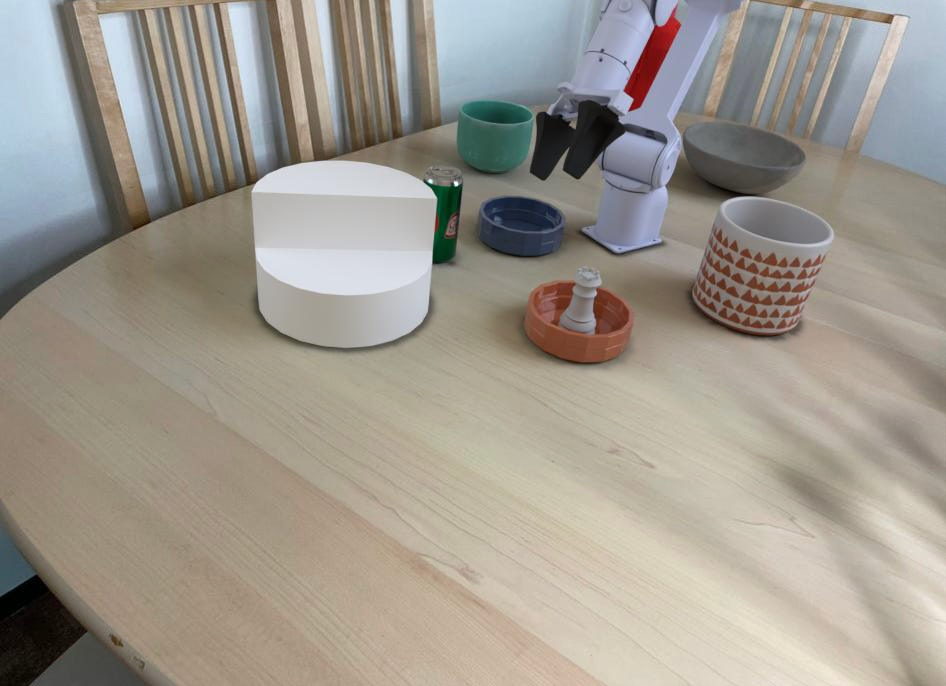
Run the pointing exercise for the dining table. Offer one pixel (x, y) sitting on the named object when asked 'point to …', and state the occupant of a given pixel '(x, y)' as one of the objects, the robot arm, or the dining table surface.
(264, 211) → the stepped white cylinder
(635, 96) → the water bottle
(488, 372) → the dining table surface
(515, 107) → the mug
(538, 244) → the slate bowl
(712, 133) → the bowl
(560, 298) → the terracotta bowl
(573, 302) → the rook chess piece
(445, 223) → the soda can
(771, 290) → the planter
